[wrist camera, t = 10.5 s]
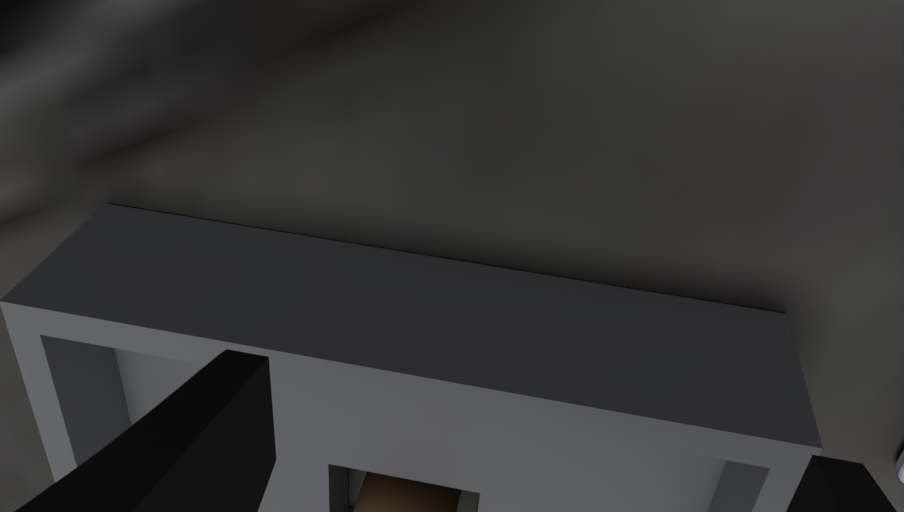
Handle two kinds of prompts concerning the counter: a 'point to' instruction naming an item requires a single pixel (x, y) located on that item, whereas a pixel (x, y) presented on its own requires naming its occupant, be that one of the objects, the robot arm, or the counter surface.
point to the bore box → (417, 369)
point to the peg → (404, 495)
